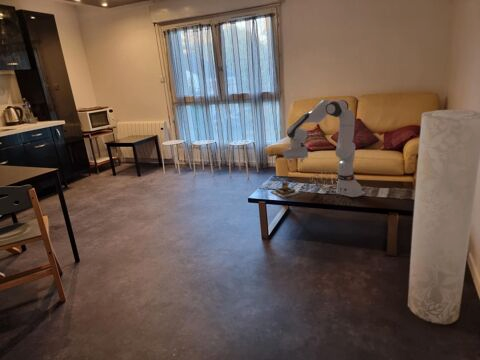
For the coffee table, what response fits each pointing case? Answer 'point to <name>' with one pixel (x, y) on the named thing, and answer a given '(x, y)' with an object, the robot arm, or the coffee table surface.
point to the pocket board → (286, 193)
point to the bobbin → (285, 186)
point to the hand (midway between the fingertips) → (296, 162)
